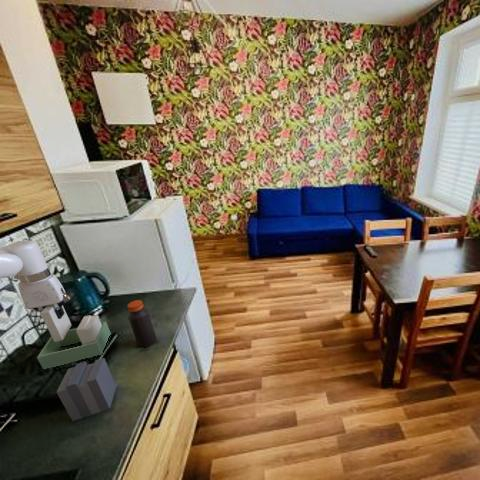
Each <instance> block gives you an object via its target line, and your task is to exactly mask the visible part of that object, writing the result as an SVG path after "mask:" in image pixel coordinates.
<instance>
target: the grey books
mask: <svg viewBox="0 0 480 480" xmlns="http://www.w3.org/2000/svg"><path fill="white" fill-rule="evenodd" d="M94 360H95V361H94V362H93V363H90V364H89V363H87V361H83V362H80V363H76V364H75V366H73V367H70V368H68V369H67V370H66V373H65V374H64V377H63V378H62V381H61V382H60V384H59V386H58V388H57V390H56V394H57V396H58V397H59V398H58V399H60V401H61V403H62V405H63V407H64V408H65V409H64V410H66V413H67V414H68V416H69V418H70V419H71V421H72V422H75V421H78V420H80V419H84V418H87V417H90V416H94V415H97V414H99V413H103V412H106V411H108V410H110V409H111V407H112V403H113V399H114V396H115V392H116V389H117V384H116V382H115V379H114V377H113V375H112V372H111V370H110V368H109V365H108V363H107V361H106V358H105V357H101V358H97V359H94Z"/></svg>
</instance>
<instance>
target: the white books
mask: <svg viewBox="0 0 480 480" xmlns="http://www.w3.org/2000/svg"><path fill="white" fill-rule="evenodd" d="M101 322H102V321H101V319H100V317H99V315H98V314H96V315H89V314H88V315H85V316H83V318H82V320H81V321H80V322H79V325H78V326H77V327H76V328H77V330H76V332H77V334H78V336H79V338H80V340H81V343H82V345H85V344H89V343H93V342H95V340H96V338H97V336H98V334H99V331H100V329H101V327H102V324H101Z"/></svg>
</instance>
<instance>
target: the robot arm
mask: <svg viewBox="0 0 480 480" xmlns="http://www.w3.org/2000/svg"><path fill="white" fill-rule="evenodd" d="M11 277H13V279H14V280H19V282H18V284H17V286H18V290H19V295H20V297H21V301H22V302H23V305H24V308H25V310H34V311H37V312H39V314H40V313H41V312H42V311H43V309H44V308H45V307H46V306H47V305H51V304H53V305H54V307H55V313H56V315H57V317H58V319H61V318H62V316H63V315H64V310H63V308H62V305H63V306H64V304H66V303H67V302H69V301H70V300H71V299H72V296H70V295H69V294H67V293H66V290H65V289H64V286H63V284H62V283H61V282H60V279H58V277H57V276H56V274H54V273H52V272H51V270H50V268H49V266H48V264H47V261H46V259H45V258H44V255H43V253H42V251H41V249H40V247H39V245H38V243H37V242H36V241H34V240H31V239H30V240H27V239H26V240H19V241H16V242H13V243H10V244H8V245H4V246H0V279H5V278H11Z"/></svg>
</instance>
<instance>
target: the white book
mask: <svg viewBox="0 0 480 480" xmlns="http://www.w3.org/2000/svg"><path fill="white" fill-rule="evenodd" d="M62 308H63V310H64V315H63V316H62V318H61V319H58V317H57V315H56V313H55V307H54V305H53V304H51V305H46V307H45V308H44V309H43V311H42V312H41V313H40V312H39V315H40V316H41V318H42V320H43V322H44V324H45V326H46V328H47V331H48V333H49V334H50V337H51V336H52V338H53V340H54V342H56V341H61V340H63V339H64V337H65V335H66V334H67V332H68V330H70V328H71V327H72V325H73V324H72V323H71V320H70V318H69V316H68V314H67V312H66V310H65V308H64V304H63V305H62Z"/></svg>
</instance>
